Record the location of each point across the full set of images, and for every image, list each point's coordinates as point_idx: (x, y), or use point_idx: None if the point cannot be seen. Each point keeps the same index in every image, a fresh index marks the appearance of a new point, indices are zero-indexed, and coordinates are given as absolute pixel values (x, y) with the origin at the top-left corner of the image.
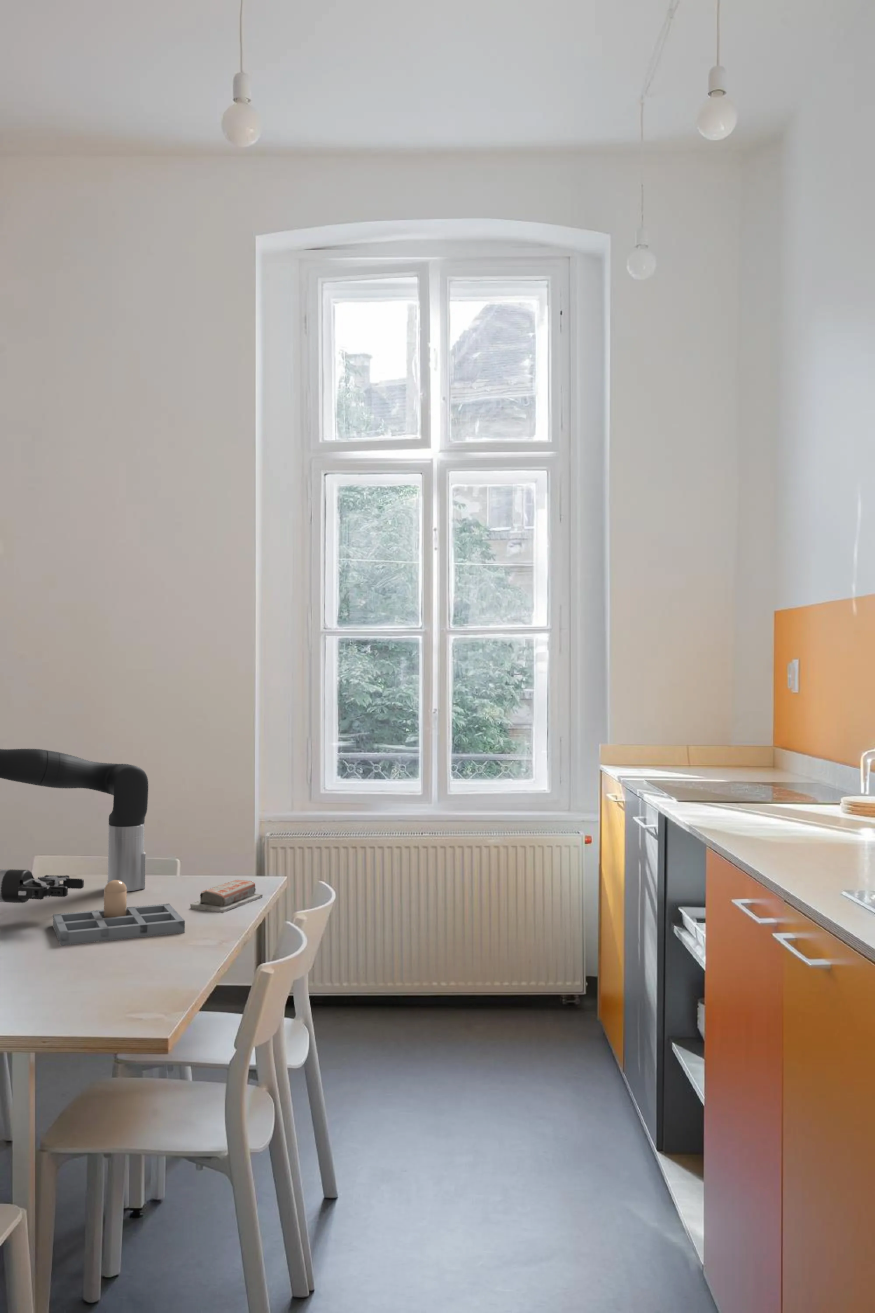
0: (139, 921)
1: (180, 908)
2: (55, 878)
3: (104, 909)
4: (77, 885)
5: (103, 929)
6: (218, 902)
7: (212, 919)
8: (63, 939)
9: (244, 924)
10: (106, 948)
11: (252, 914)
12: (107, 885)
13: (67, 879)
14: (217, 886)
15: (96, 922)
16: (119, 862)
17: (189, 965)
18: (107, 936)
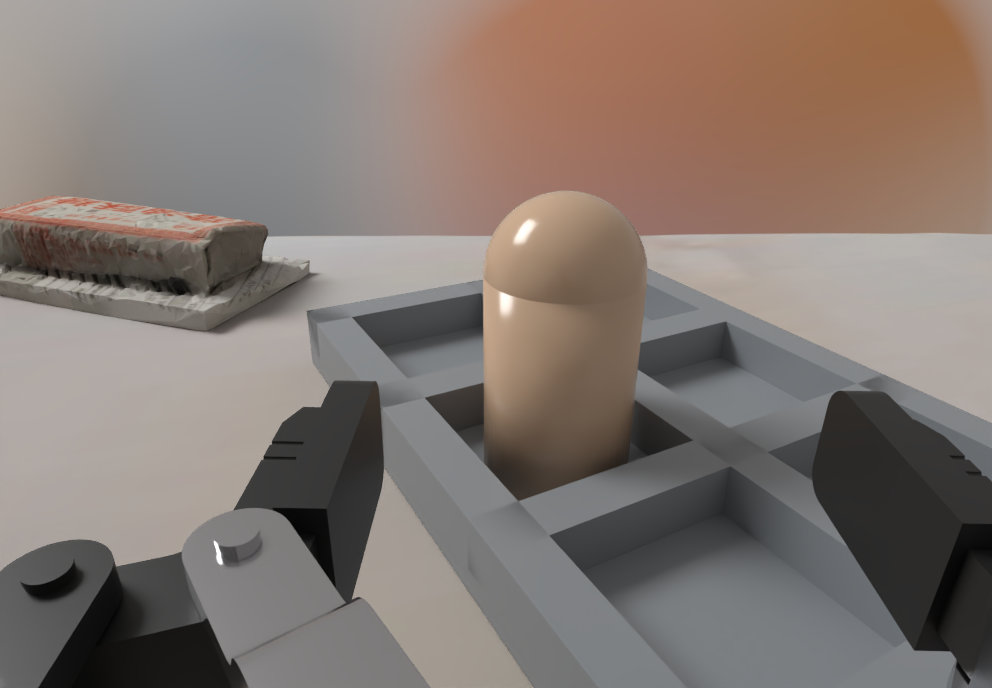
0: (688, 324)
1: (186, 353)
2: (382, 650)
3: (618, 414)
4: (368, 482)
5: (909, 387)
6: (251, 256)
7: (413, 278)
8: None
9: (478, 239)
10: (980, 410)
11: (349, 239)
12: (624, 237)
13: (323, 514)
14: (119, 223)
15: (784, 450)
16: None
17: (937, 257)
18: None
